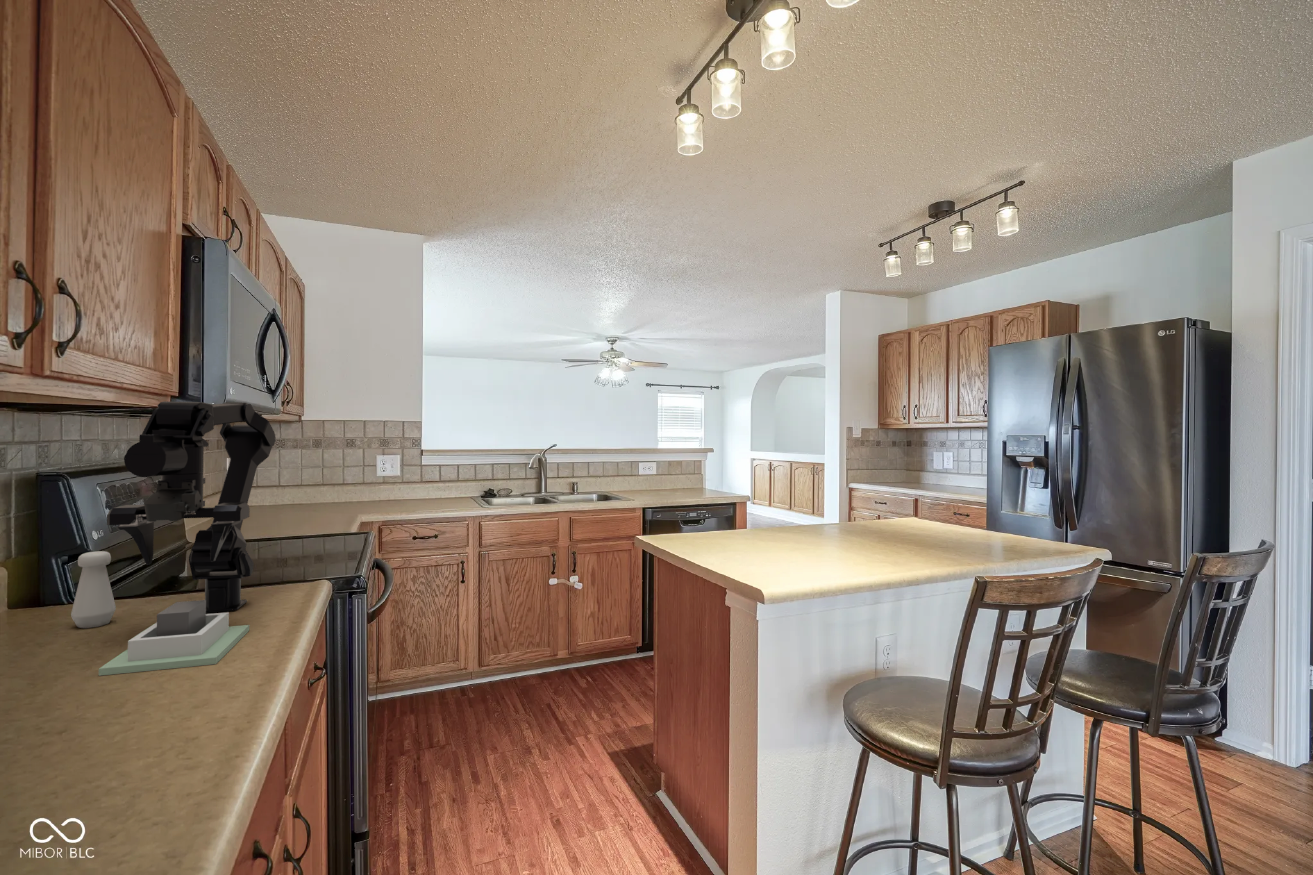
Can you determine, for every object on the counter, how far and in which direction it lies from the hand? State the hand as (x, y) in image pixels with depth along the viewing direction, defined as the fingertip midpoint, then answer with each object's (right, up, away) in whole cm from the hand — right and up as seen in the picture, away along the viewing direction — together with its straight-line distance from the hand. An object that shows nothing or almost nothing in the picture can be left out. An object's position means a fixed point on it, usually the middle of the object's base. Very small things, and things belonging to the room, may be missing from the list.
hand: (181, 562), depth 102 cm
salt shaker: (-18, -12, +3) cm, 22 cm away
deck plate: (+7, -12, -9) cm, 17 cm away
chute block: (+7, -11, -9) cm, 16 cm away
